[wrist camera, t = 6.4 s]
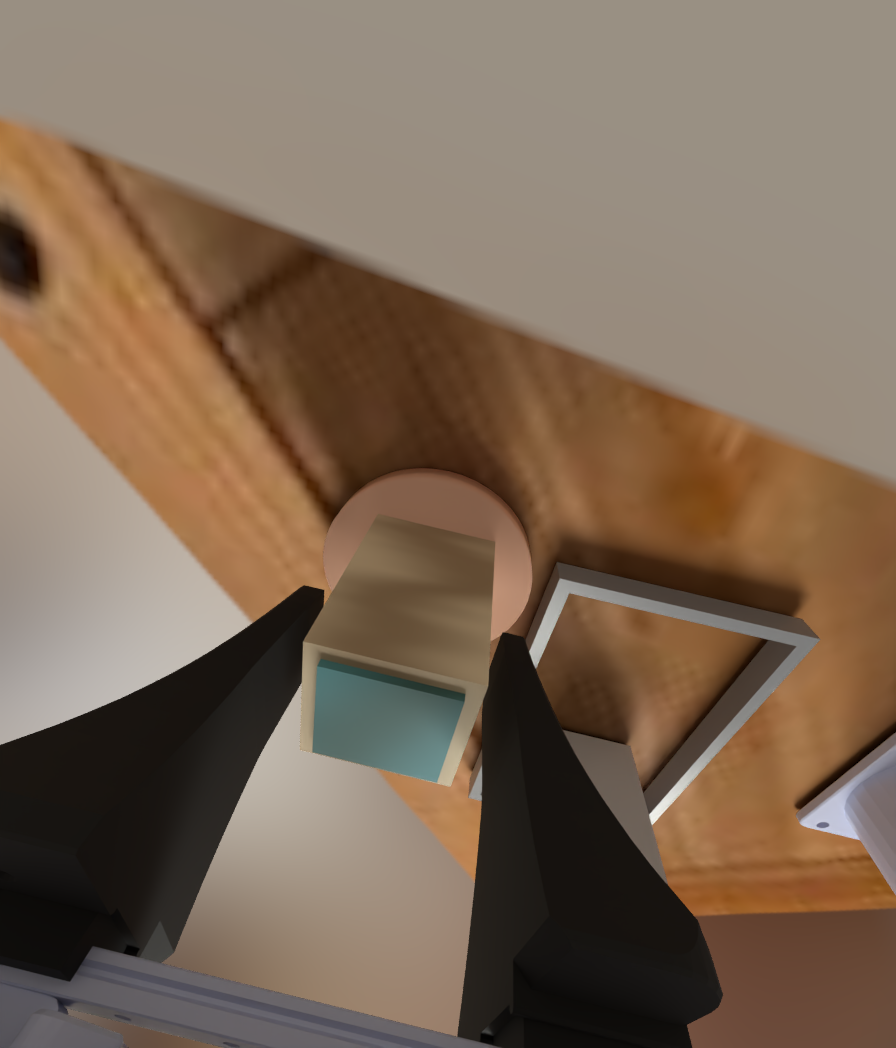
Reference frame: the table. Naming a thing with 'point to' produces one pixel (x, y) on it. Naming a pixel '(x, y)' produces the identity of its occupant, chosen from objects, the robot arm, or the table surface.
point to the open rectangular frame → (759, 677)
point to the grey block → (619, 789)
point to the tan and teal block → (401, 652)
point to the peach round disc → (445, 507)
